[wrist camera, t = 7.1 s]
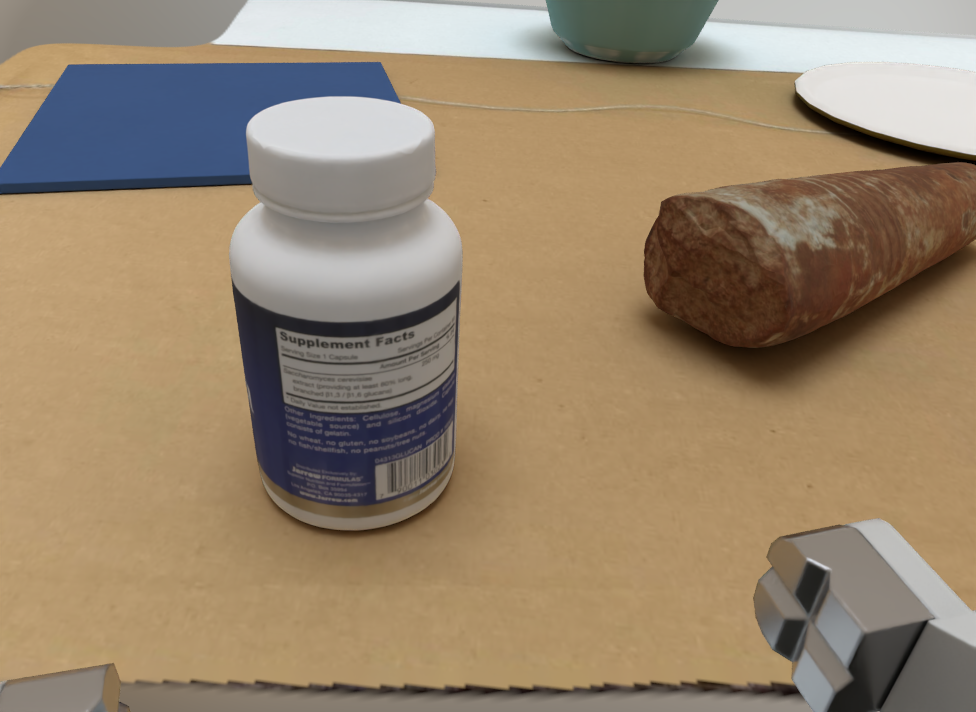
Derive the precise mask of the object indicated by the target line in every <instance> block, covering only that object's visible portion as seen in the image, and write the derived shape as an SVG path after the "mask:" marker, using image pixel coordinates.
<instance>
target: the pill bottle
mask: <svg viewBox="0 0 976 712" xmlns="http://www.w3.org/2000/svg"><path fill="white" fill-rule="evenodd" d="M246 139H247V148H248V159H249V171H250V178H251V181H252V183H253V191H254V194H255V196H256V197H257V198H258V200H259V201H260V203H259V204H257V205H256V206H254V207H253V208H252V209H251V210H250V211H249V212H247V214H246V215H245V216H244V217H243V218H242V219H241V220H240V222H239V223H238V225H237V226H236V228H235V230H234V233H233V235H232V238H231V242H230V252H229V258H230V269H231V277H232V286H233V295H234V301H235V308H236V315H237V322H238V330H239V337H240V344H241V351H242V359H243V366H244V373H245V381H246V387H247V393H248V400H249V406H250V413H251V420H252V427H253V434H254V441H255V448H256V454H257V461H258V465H259V470H260V475H261V478H262V482H263V485H264V487H265V489H266V491H267V492H268V494H269V496H270V497H271V498H272V500H273V501H274V502H275V503H276V504H277V505H278V506H279V507H280V508H281V509H283V510H284V511H285V512H287V513H288V514H290V515H291V516H293V517H294V518H296V519H298V520H300V521H303V522H305V523H308V524H311V525H314V526H317V527H322V528H328V529H335V530H366V529H373V528H379V527H384V526H388V525H391V524H394V523H397V522H400V521H402V520H405V519H407V518H409V517H411V516H413V515H415V514H417V513H419V512H420V511H422V510H423V509H425V508H426V507H427V506H429V505H430V504H431V503H432V502H433V501H435V500H436V499H437V498H438V496H439V495H440V494H441V492H442V491H443V490H444V488H445V487H446V485H447V483H448V481H449V479H450V477H451V474H452V471H453V467H454V461H455V446H456V417H457V384H458V359H459V329H460V306H461V286H462V243H461V238H460V235H459V233H458V230H457V228H456V227H455V225H454V223H453V221H452V220H451V219H450V217H449V216H448V215H447V214H446V213H445V212H444V211H443V210H442V209H441V208H440V207H439V206H438V205H436V204H435V203H434V202H432V201H431V200H429V199H427V198H428V197H429V196H430V195H431V193H432V191H433V188H434V180H435V176H436V166H435V130H434V126H433V123H432V121H431V120H430V119H429V118H428V117H427V116H426V115H424V114H423V113H422V112H420V111H418V110H416V109H414V108H412V107H409V106H407V105H403V104H400V103H396V102H392V101H386V100H381V99H374V98H366V97H318V98H308V99H301V100H294V101H289V102H285V103H281V104H278V105H275V106H272V107H269V108H267V109H265V110H263V111H261V112H259V113H258V114H256V115H255V116H254V117H253V118H252V119H251V120H250V121H249V123H248V124H247V129H246Z"/></svg>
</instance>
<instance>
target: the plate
mask: <svg viewBox="0 0 976 712" xmlns="http://www.w3.org/2000/svg"><path fill="white" fill-rule="evenodd" d="M795 91H796V95H797V96H798V97H799V98H800V99H801V100H802V101H803V102H804V103H805V104H806V105H807V106H808V107H809V108H810V109H812V110H814V111H816V112H818V113H819V114H821V115H823V116H825V117H827V118H829V119H830V120H832V121H834V122H836V123H839V124H841V125H844V126H847V127H849V128H852V129H854V130H857V131H860V132H862V133H865V134H868V135H870V136H873V137H876V138H879V139H882V140H885V141H889V142H892V143H896V144H899V145H903V146H907V147H910V148H914V149H917V150H921V151H925V152H930V153H935V154H940V155H945V156H949V157H954V158H959V159H966V160H973V161H976V72H973V71H967V70H961V69H955V68H947V67H939V66H930V65H921V64H909V63H892V62H849V63H840V64H831V65H825V66H821V67H818V68H815V69H812V70H808V71H806V72H805V73H803V74H802V75H801V76H800V77H799V78H798V79H797V80H796V81H795Z"/></svg>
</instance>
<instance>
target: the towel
mask: <svg viewBox="0 0 976 712" xmlns="http://www.w3.org/2000/svg"><path fill="white" fill-rule="evenodd" d="M318 97H366V98H374V99H381V100H386V101H392V102H396V103H400V101H399V99H398V97H397V95H396V93H395V91H394V89H393V86H392V84H391V82H390V80H389V78H388V76H387V74H386V72H385V70H384V68H383V66H382V64H381V62H343V63H212V64H80V65H68V66H67V68H66V69H65V71H64V72H63V74H62V75H61V77H60V78H59V80H58V81H57V83H56V84H55V86H54V87H53V89H52V90H51V92H50V93H49V95H48V96H47V98H46V99H45V101H44V102H43V104H42V105H41V107H40V109H39V110H38V112H37V113H36V115H35V116H34V118H33V119H32V121H31V122H30V124H29V125H28V127H27V128H26V130H25V131H24V133H23V134H22V136H21V137H20V139H19V140H18V142H17V143H16V145H15V146H14V148H13V149H12V151H11V152H10V154H9V155H8V157H7V158H6V160H5V161H4V163H3V164H2V166H1V168H0V194H1V193H27V192H52V191H77V190H102V189H127V188H153V187H178V186H203V185H228V184H253V183H252V181H251V178H250V171H249V159H248V148H247V139H246V129H247V124H248V123H249V121H250V120H251V119H252V118H253V117H254V116H255V115H256V114H258V113H259V112H261V111H263V110H265V109H267V108H269V107H272V106H275V105H278V104H281V103H285V102H289V101H294V100H301V99H308V98H318ZM400 104H401V103H400Z"/></svg>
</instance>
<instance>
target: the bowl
mask: <svg viewBox="0 0 976 712" xmlns="http://www.w3.org/2000/svg"><path fill="white" fill-rule="evenodd" d="M717 2H718V0H546V3H547V8H548V12H549V16H550V21H551V25H552V28H553V30H554V32H555V33H556V34H557V35H558V36H559V37H560V38H561V39H562V41H563V42H564V43H565V44H566V45H567V47H568V48H570V49H571V50H573V51H574V52H577V53H579V54H582V55H585V56H588V57H592V58H596V59H601V60H607V61H614V62H624V63H657V62H664V61H667V60H670V59H672V58H674V57H675V56H677V55H678V54H679V53H681V52H682V51H684V50H685V49H687V48H688V47H690V46H691V45H692V44H693V43H694V42H695V41H696V39H697V37H698V35H699V34H700V32H701V30H702V28H703V27H704V25H705V23H706V21H707V20H708V18H709V16H710V14H711V13H712V11H713V9H714V7H715V5H716V4H717Z"/></svg>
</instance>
